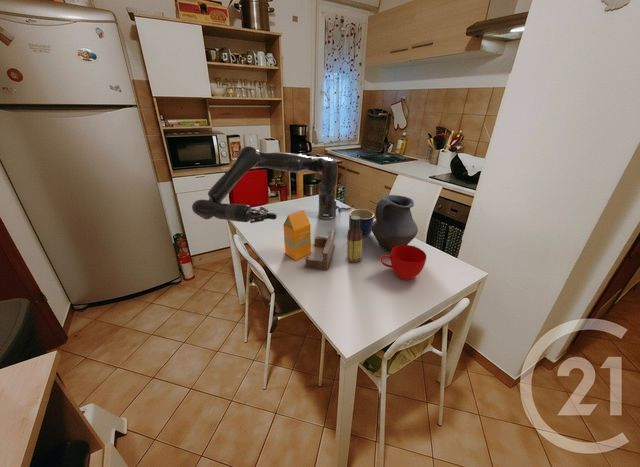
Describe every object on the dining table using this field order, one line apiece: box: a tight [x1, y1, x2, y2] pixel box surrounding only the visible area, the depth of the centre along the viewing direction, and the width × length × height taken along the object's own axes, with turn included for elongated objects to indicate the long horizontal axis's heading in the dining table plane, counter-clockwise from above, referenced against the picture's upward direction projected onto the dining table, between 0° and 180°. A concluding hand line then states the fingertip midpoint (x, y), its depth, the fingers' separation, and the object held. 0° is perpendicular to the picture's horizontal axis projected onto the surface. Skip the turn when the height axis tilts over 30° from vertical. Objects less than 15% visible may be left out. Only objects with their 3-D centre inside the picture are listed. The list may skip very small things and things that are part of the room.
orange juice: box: [283, 209, 312, 261], centre depth 114 cm, size 8×9×20 cm
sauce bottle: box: [346, 216, 363, 263], centre depth 110 cm, size 7×6×20 cm
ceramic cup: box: [379, 244, 428, 280], centre depth 103 cm, size 13×17×10 cm
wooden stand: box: [305, 230, 336, 271], centre depth 115 cm, size 9×20×8 cm, turn 169°
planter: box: [348, 208, 375, 238], centre depth 133 cm, size 12×12×11 cm
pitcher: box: [371, 194, 419, 252], centre depth 118 cm, size 21×22×25 cm
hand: (276, 216), depth 112 cm, fingers closed
